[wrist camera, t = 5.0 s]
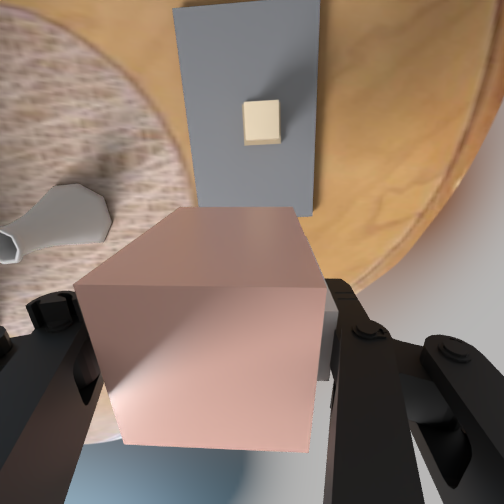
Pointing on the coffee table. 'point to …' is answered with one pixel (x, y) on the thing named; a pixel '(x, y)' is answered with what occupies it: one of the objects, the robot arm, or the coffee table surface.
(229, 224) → the pink upright block
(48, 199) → the flask
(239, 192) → the post board
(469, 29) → the coffee table surface
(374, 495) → the robot arm
